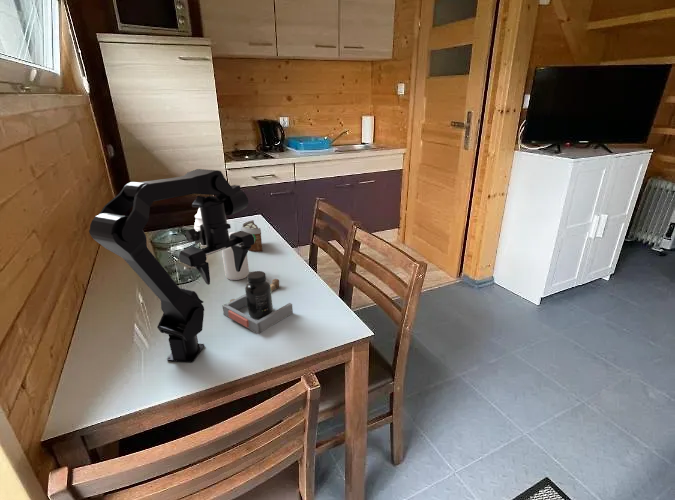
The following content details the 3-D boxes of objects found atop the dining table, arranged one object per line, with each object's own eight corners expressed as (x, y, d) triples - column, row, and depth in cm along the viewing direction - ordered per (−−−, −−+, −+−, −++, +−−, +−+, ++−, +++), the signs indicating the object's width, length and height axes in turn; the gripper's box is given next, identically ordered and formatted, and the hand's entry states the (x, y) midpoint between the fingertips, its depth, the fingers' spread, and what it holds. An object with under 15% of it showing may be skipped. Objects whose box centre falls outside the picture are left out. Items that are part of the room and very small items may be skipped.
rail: (233, 310, 108) (232, 303, 107) (229, 308, 109) (228, 301, 108) (281, 286, 120) (280, 280, 120) (276, 284, 122) (275, 278, 121)
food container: (241, 245, 155) (238, 222, 152) (255, 242, 158) (253, 219, 154) (247, 255, 145) (244, 231, 141) (263, 252, 147) (260, 228, 144)
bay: (256, 334, 97) (254, 325, 95) (221, 315, 106) (220, 306, 104) (292, 313, 106) (292, 303, 105) (258, 297, 115) (257, 288, 114)
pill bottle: (225, 282, 125) (219, 239, 119) (225, 272, 132) (219, 231, 126) (250, 278, 126) (244, 237, 121) (248, 269, 134) (243, 229, 128)
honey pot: (232, 238, 163) (227, 198, 156) (209, 248, 153) (201, 205, 146) (212, 233, 169) (206, 194, 163) (188, 242, 159) (180, 201, 153)
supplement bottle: (276, 307, 109) (273, 270, 104) (266, 320, 103) (262, 281, 98) (255, 305, 110) (250, 268, 106) (244, 317, 104) (238, 279, 100)
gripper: (227, 206, 104) (234, 258, 110) (161, 224, 91) (174, 282, 97) (252, 213, 97) (259, 268, 103) (186, 234, 84) (197, 295, 90)
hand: (223, 277), depth 98 cm, fingers open, 9 cm apart
